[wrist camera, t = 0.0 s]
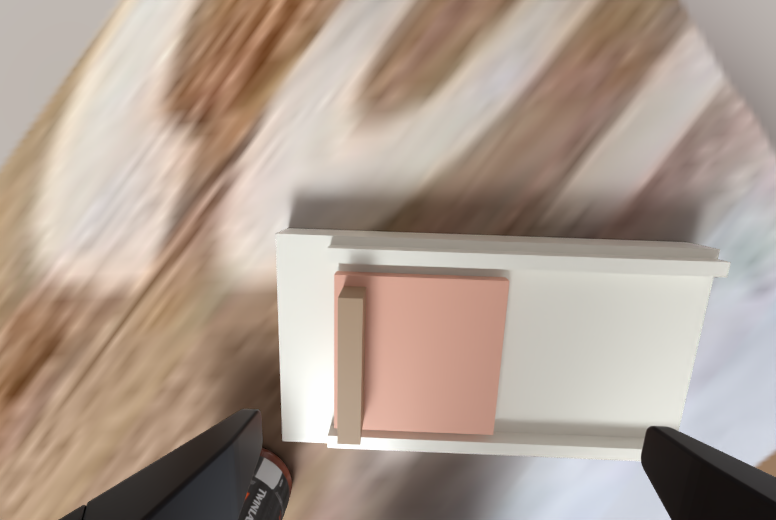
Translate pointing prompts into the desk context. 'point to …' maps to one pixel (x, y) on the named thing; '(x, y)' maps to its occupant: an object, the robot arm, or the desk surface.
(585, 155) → the desk surface
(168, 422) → the desk surface
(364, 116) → the desk surface
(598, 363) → the board
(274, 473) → the supplement bottle
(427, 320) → the lid
